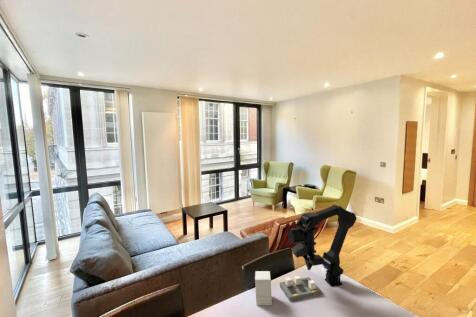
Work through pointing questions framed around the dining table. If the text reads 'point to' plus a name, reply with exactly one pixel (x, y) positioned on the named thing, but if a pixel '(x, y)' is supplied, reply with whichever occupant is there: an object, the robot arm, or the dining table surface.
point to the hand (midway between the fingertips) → (308, 269)
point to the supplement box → (263, 288)
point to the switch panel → (300, 290)
